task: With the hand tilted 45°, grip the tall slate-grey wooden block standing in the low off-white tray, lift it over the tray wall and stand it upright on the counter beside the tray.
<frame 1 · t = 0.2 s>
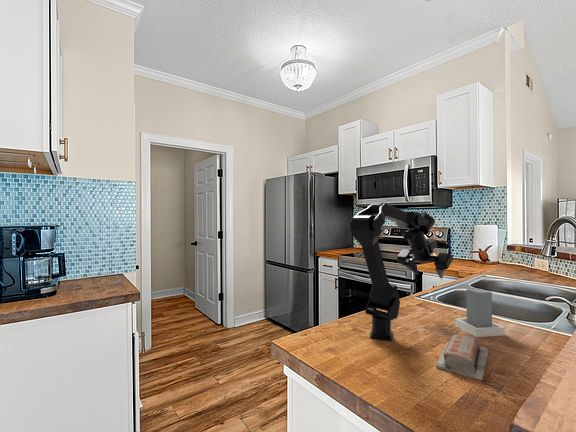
hand: (429, 276, 114), 15 cm above the counter, tool tilted 35°, fingers open, 9 cm apart
packaged product: (463, 362, 79), on the counter
slate block: (479, 310, 99), in the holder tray
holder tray: (479, 330, 99), on the counter
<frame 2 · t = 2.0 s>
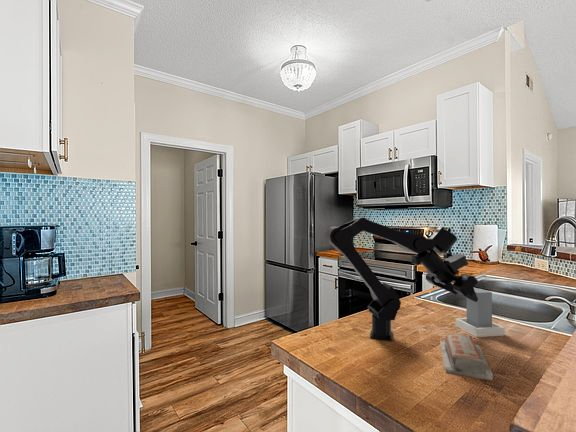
hand: (466, 296, 99), 11 cm above the counter, tool tilted 45°, fingers open, 9 cm apart
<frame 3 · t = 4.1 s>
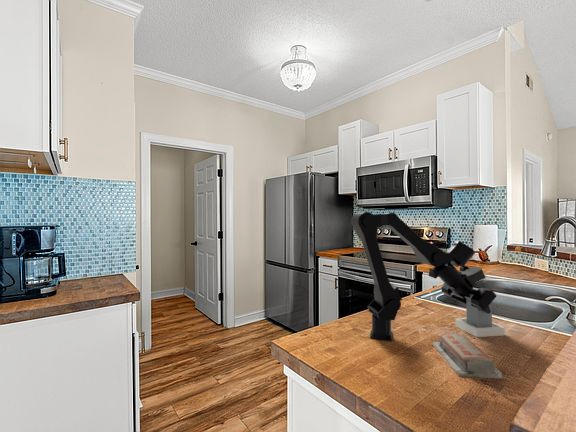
hand: (483, 309, 99), 7 cm above the counter, tool tilted 45°, fingers closed on slate block, 5 cm apart
slate block: (478, 310, 99), in the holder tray, touching gripper
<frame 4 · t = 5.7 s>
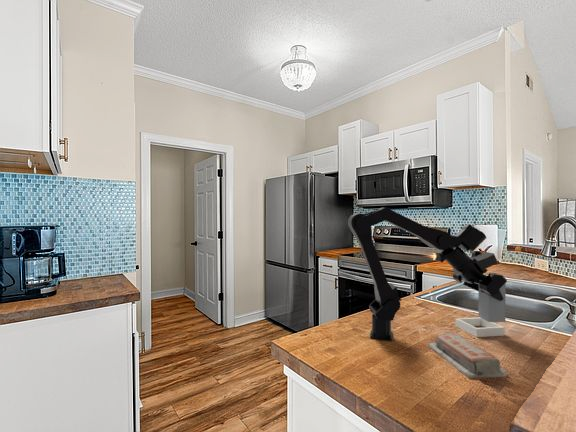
hand: (496, 297, 94), 12 cm above the counter, tool tilted 45°, fingers closed on slate block, 5 cm apart
slate block: (491, 298, 94), point 12 cm above the counter, touching gripper
when the fingers open (7 cm above the counter, at t = 7.8 s): slate block stays where it is, on the counter.
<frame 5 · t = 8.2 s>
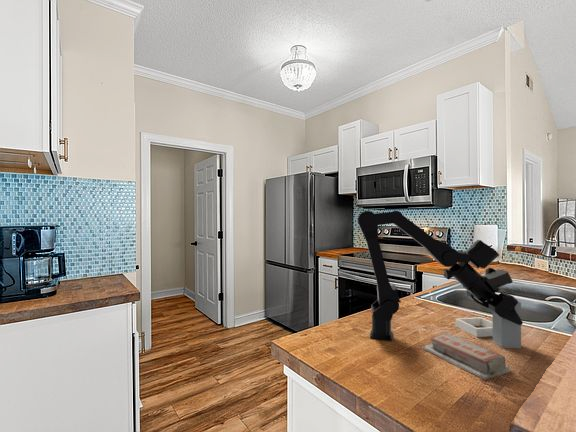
hand: (511, 318, 88), 8 cm above the counter, tool tilted 45°, fingers open, 9 cm apart
slate block: (506, 322, 89), on the counter
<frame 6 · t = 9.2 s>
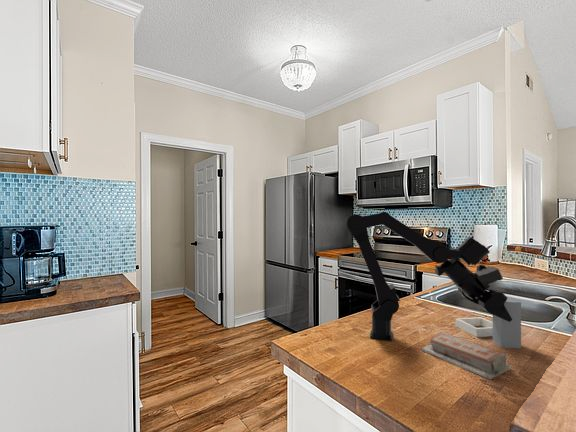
hand: (501, 315, 89), 8 cm above the counter, tool tilted 45°, fingers open, 9 cm apart
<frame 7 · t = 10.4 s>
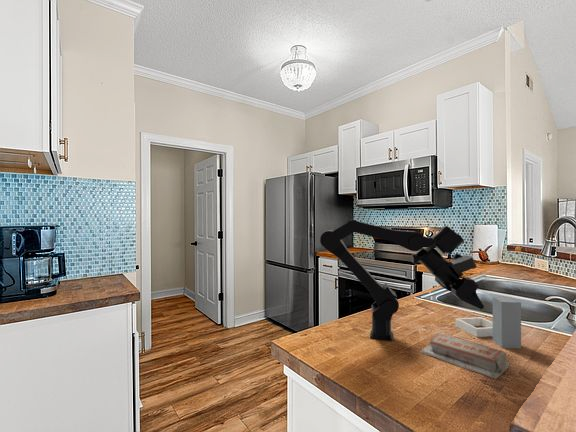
hand: (475, 303, 90), 12 cm above the counter, tool tilted 45°, fingers open, 9 cm apart
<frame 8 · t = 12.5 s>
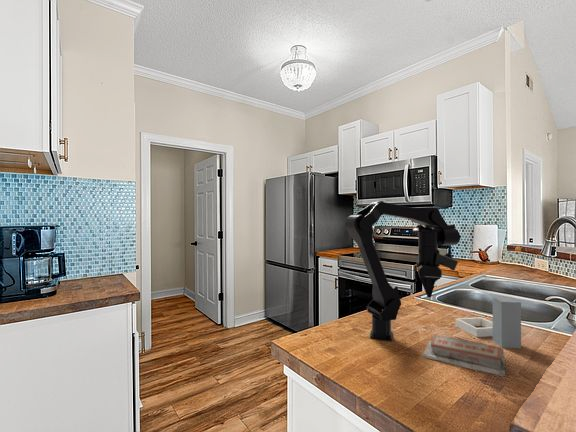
hand: (428, 293, 100), 12 cm above the counter, tool pointing down, fingers open, 9 cm apart
at the end: slate block inside the target area (0.0 cm from its centre), on the counter; slate block tilted 0°; the gripper is holding nothing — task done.
